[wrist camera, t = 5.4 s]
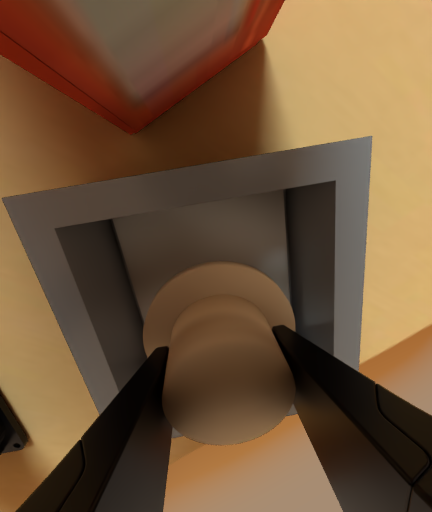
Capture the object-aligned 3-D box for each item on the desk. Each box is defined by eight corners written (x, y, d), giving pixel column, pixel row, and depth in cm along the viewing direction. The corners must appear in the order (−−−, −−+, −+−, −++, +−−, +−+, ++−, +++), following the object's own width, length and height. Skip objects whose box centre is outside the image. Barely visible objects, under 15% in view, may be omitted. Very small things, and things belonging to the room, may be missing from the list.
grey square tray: (307, 332, 17) (356, 402, 12) (140, 363, 17) (115, 449, 12) (301, 150, 13) (372, 135, 8) (81, 187, 13) (1, 197, 7)
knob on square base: (288, 324, 16) (377, 470, 8) (155, 348, 16) (115, 522, 8) (279, 186, 13) (407, 207, 5) (115, 214, 13) (-14, 281, 5)
